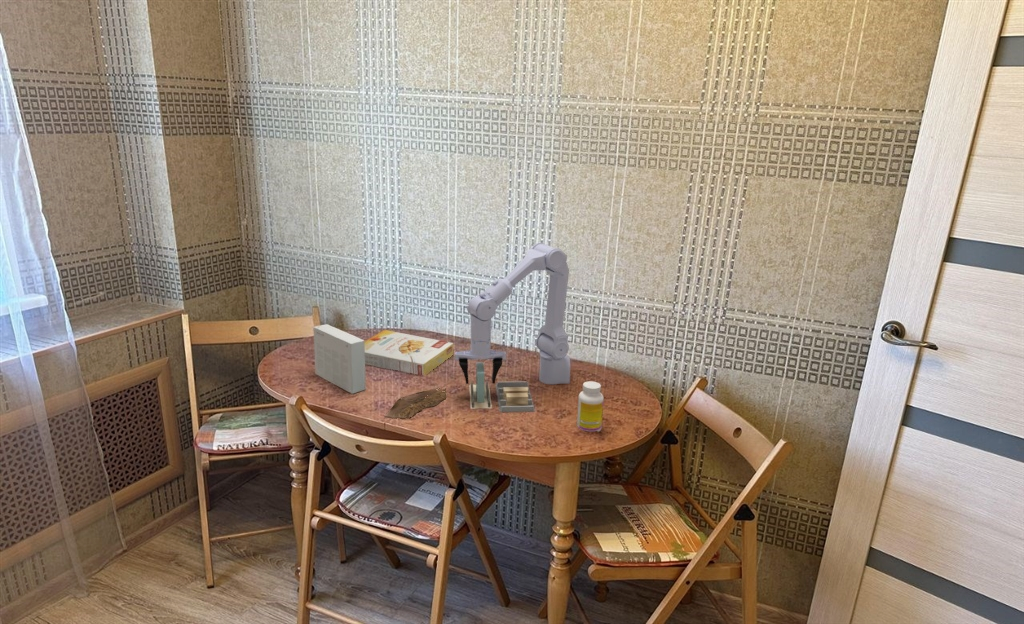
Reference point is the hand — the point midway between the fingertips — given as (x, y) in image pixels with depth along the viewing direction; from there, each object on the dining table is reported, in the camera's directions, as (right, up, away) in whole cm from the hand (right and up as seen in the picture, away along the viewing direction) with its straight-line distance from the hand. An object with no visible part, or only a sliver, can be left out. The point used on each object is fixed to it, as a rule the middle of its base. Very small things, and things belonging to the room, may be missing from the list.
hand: (480, 382), depth 181 cm
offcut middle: (+10, -5, -2) cm, 12 cm away
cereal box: (-27, +4, +30) cm, 41 cm away
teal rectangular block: (0, -4, +1) cm, 4 cm away
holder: (0, -5, +2) cm, 5 cm away
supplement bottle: (+30, -11, -14) cm, 35 cm away
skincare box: (-44, -1, +11) cm, 45 cm away
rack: (+10, -5, +2) cm, 11 cm away
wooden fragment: (-17, -6, -1) cm, 19 cm away
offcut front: (+11, -7, -5) cm, 14 cm away
